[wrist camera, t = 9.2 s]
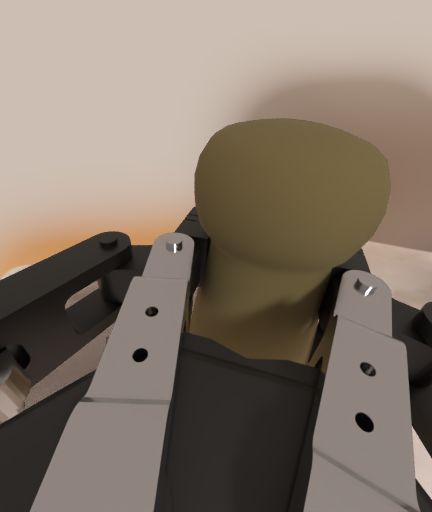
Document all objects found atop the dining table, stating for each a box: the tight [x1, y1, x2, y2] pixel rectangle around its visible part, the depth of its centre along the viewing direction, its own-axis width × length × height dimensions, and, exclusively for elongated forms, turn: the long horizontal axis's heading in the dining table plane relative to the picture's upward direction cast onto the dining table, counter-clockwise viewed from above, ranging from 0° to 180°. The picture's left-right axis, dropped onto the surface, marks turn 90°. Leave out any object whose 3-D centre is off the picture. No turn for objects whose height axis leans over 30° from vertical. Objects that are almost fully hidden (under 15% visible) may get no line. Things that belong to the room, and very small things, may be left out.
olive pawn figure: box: [190, 119, 390, 365], centre depth 10 cm, size 6×6×11 cm
